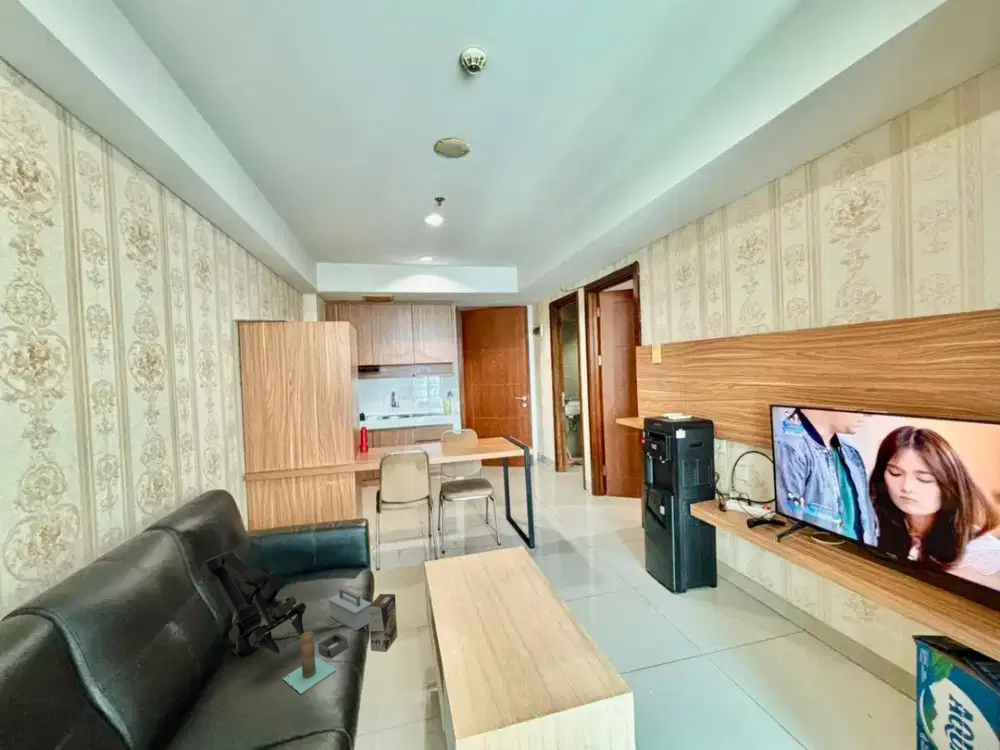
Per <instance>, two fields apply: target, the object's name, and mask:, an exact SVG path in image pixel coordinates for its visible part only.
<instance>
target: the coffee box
mask: <svg viewBox="0 0 1000 750" xmlns="http://www.w3.org/2000/svg"><path fill="white" fill-rule="evenodd" d="M371 603H372V604H371V605H370V606H369V620H370V623H369V634H370V635H369V636H370V638H369V640H370V651H372V652H381V653H388V651H389V649H390V647H391V646H392V644H393V643H394V642H395V640H396V639H397V637H398V625H397V622H398V621H397V606H396V605H397V604H396V594H394V593H380V594H379V595H377V597H376V598H375V599H374V600H373V601H372V602H371Z"/></svg>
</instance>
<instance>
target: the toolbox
mask: <svg viewBox="0 0 1000 750" xmlns="http://www.w3.org/2000/svg"><path fill="white" fill-rule="evenodd" d="M328 603H329V610H330V611H329V613H330V614H329V615H330V618H332V617H333V619H335V620H336V621H338V622H339V623H342V624H343V625H345V626H348V627H349V628H351V629H353V630H355V631H358V630H360V629H361V628H364V627H365V626H366V625H369V624H370V620H369V606H370V605H371V604H372V603H373V602H370V601H368V600H365V599H363V598H362V597H361V595H359V594H357V593H354V592H353V591H350V590H348V589H346V588H344V587H339V588H338V594H337V595H334V596H332V597H331V598H328Z"/></svg>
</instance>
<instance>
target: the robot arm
mask: <svg viewBox="0 0 1000 750" xmlns="http://www.w3.org/2000/svg"><path fill="white" fill-rule="evenodd" d="M200 572H201V574H202V575H203V576H204V577H205V579H207V581H210V582H213V583H214V584H215V585H216V586H217V588H218V590H219V592H220V594H221V595H222V597H223V599H224V600H225V601H224V602H226V604H227V607H228V608H229V610H230V611H231V612H230V613H232V619H231V620H232V621H231V625H232V627H231V629H229V632H228V636H229V637H228V638H229V639H230V640H232V641H234V642H235V643H236V644H235V645H236V647H235V648H234V649H233V650H232V653H234V655H236V656H237V657H238V658H243V657H245V656H247V655H249V654H250V653H252V652H255V651H256V650H258V649H259V648H260V646H261V647H263V648H265V649H268V650H270V651H272V652H273V653H275V654H277V655H278V654H280V653H281V651H280V648H279V647H278V644H277V643H276V641H275V640H274V639H273V636H272V634H273V633H272V631H273V630H274V629H276V628H277V627H279V626H281V625H282V624H284V623H285V622H287V621H289V620H290V621H291V623H290V624H291V626H292V627H293V628H294V629H295V631H296V632H297V634H298V635H299V637H300V636H301V635H302V634H303V633H305V632H304V631H305V630H304V624H303V615H304V613H305V611H306V609H307V608H308V606H307V604H306V603H305V602H302V601H301V602H300V603H298V604H297V599H296V597H295V596H294V595H293V594H292V595H289V596H287V597H286V598H285V601H283V602H282V600H281V599H279V600H278V599H277V596H278V595H279V594H280V592H281V591H282V590H283V588H284V587H285V585H286V579H285V577H284V576H282V575H280V574H275V572H272V573H269V574H268V573H266V572H265V571H263V570H262V569H258V568H252V567H250V566H249V565H248V564H247V563H245V561H243V560H242V559H240V558H239V557H238V556H237V555H236V554H235V552H234V551H227V552H225V553H222V554H219V555H217V556H214V557H212V558H209V559H207V560H204V561H203V562H202V565H201V566H200ZM231 575H232V576H233V577H235V579H237V580H238V581H239V582H240V589H242V591H243V593H244V594H246V595H248V596H250V595H253V596H252V600H251V604H248V603H247V602H246V600H245V598H244V597H243V595H242V594H241V592H240V590H239V588H238V587H237V585H236V583H235V581H234V580H233V578H232V576H231ZM256 592H257V593H256ZM255 593H256V594H255ZM262 619H264V621H265V622H266V624H263V625H262ZM261 625H262V626H261Z"/></svg>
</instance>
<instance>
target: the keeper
mask: <svg viewBox="0 0 1000 750" xmlns="http://www.w3.org/2000/svg"><path fill="white" fill-rule="evenodd" d="M335 643H337V644H336V645H335V646H333V647H331V648H329V647H330V646H332V645H333V644H335ZM317 645H318V653H319V654H320V655H322V656H324V657H325V658H326V659H328V658H330V659H332V658H335V656H337V655H338V654H340V653H342V652H343V651H345V650H346V649H347V648H349V641H348V638H347V637H346V636H344V635H342V634H341V633H339V632H338V633H333V634H332V635H330V636H329V637H326V638H325V639H323V640H321V641H320V642H318V643H317Z"/></svg>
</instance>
